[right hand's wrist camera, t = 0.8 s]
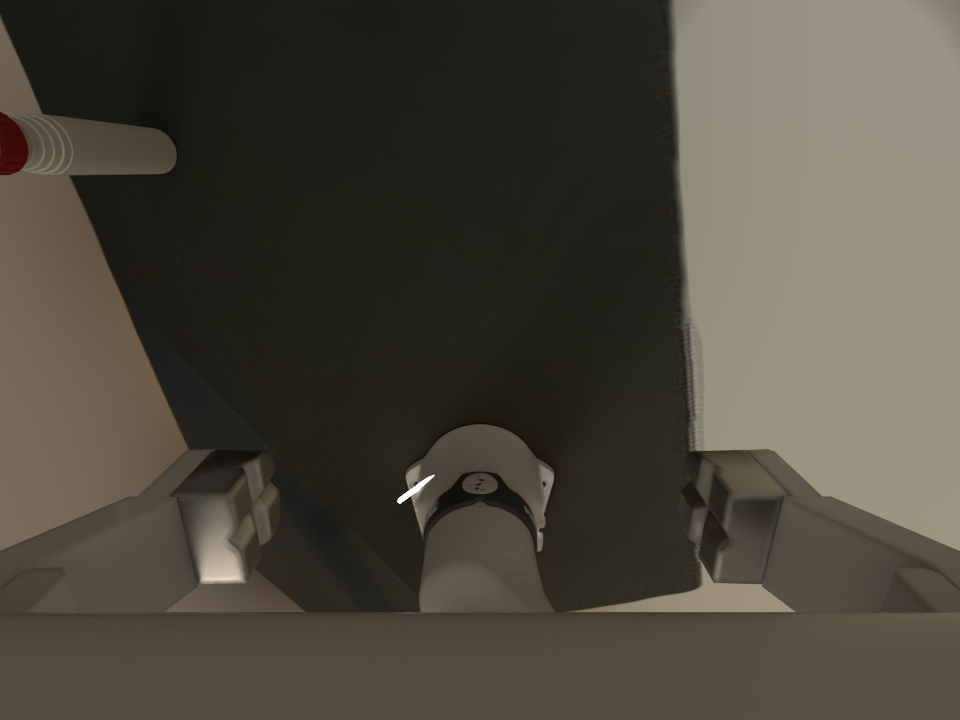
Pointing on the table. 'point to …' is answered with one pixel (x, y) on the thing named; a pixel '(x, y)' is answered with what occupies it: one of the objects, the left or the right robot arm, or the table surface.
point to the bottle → (93, 147)
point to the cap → (12, 146)
